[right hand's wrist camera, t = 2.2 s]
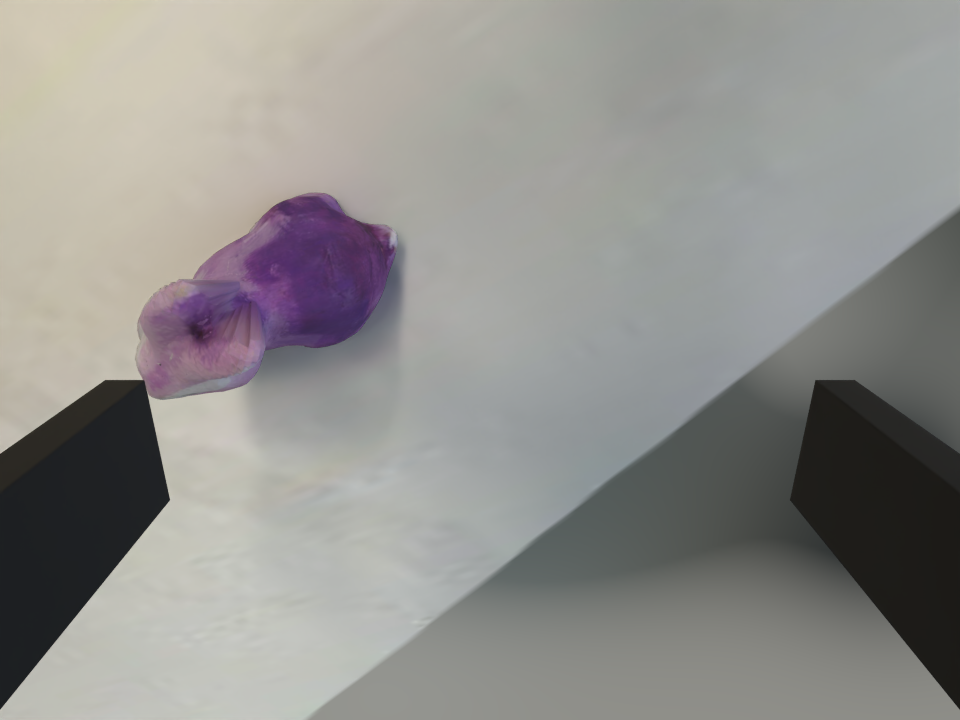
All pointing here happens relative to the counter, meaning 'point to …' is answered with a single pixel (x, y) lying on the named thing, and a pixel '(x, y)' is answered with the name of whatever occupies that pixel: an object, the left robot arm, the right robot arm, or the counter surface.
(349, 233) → the figurine
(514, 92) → the counter surface
